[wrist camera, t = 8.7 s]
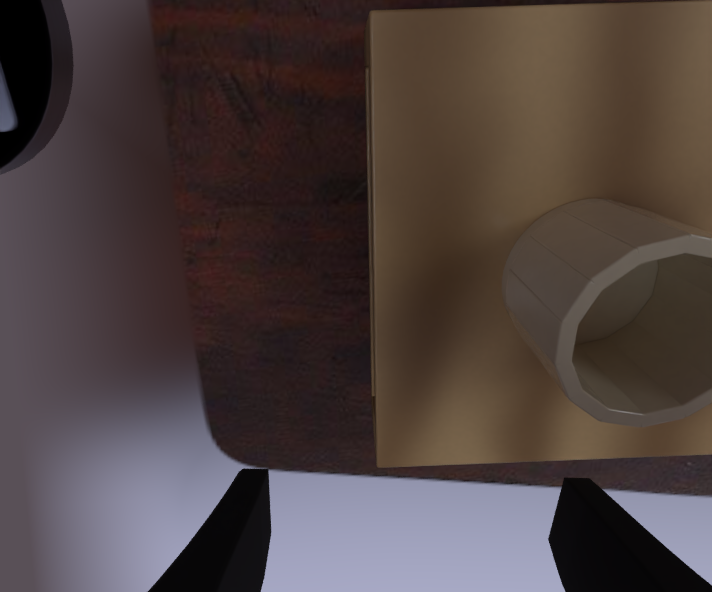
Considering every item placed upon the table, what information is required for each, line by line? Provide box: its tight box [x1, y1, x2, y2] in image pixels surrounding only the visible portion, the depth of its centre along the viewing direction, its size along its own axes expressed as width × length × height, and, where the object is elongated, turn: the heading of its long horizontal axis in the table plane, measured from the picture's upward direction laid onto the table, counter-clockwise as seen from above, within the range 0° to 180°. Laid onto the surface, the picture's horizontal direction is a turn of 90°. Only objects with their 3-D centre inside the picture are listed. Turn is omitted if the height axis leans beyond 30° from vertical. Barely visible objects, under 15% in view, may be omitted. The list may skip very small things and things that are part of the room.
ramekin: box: [501, 199, 712, 428], centre depth 14 cm, size 5×5×4 cm
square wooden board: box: [364, 0, 712, 468], centre depth 17 cm, size 14×16×4 cm
